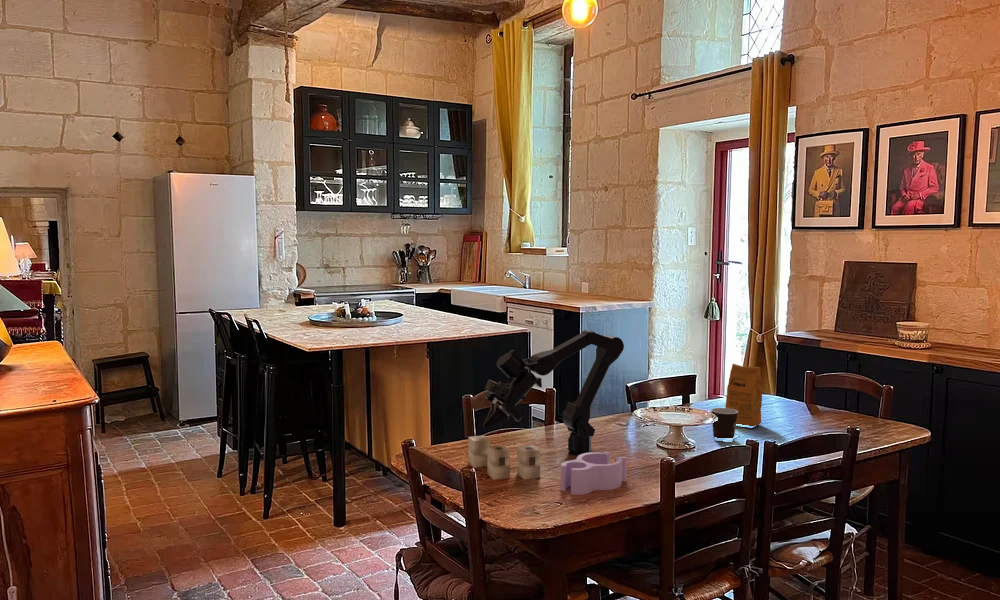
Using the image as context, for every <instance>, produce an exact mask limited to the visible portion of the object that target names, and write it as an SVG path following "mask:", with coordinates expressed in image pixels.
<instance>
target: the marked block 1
mask: <svg viewBox="0 0 1000 600" xmlns="http://www.w3.org/2000/svg"><path fill="white" fill-rule="evenodd" d="M486 473H487V475H488V476H489V477H490V479H492V480H502V479H509V478H511V449H510V448H508V447H507V446H505V445H493V446H490V447H488V466H487V471H486Z"/></svg>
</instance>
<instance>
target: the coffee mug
mask: <svg viewBox="0 0 1000 600" xmlns="http://www.w3.org/2000/svg"><path fill="white" fill-rule="evenodd" d="M710 412H711V413H713V414H715V415H716V416H717V417H718V421H716V422H714V423H712V422H711V423H712V435H713V436H714V437H717V438H733V437H734V438H735V434H736V433H735V432H736V427H737V426H736V421H737V415H738V411H737V410H734V409H729V408H725V407H715V408H712V409H711V410H710ZM711 413H710V414H711ZM713 436H712V437H713ZM714 437H713V438H714Z"/></svg>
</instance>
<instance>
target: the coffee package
mask: <svg viewBox="0 0 1000 600" xmlns="http://www.w3.org/2000/svg"><path fill="white" fill-rule="evenodd" d="M761 371H762V368H761V367H760V366H743V365H740V364H736V363H732V365H731V369H730V372H729V379H728V384H727V387H726V389H727V390H726V397H725V398H726V400H725V405H724V406H725V407H724V408H729V409H734V410H737V411H738V415H737V421H736V424H742V425H749V426H755V425H758V426H760V425H761V424H762V406H763V405H762V404H763V392H764V391H763V388H764V386H763V380H762V374H761ZM760 423H761V424H760ZM759 424H760V425H759Z"/></svg>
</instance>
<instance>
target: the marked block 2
mask: <svg viewBox="0 0 1000 600" xmlns="http://www.w3.org/2000/svg"><path fill="white" fill-rule="evenodd" d="M516 451H517V452H516V453H517V454H516V455H517V456H516V462H517V463H516V464H517V465H516V469H517V470H516V471H517V472H516V474H517V476H519V477H520V478H521V479H523V480H531V479H538V478H541V449H540V448H539V447H537V446H535V445H534V444H533V445H531V444H530V445H522V446H517V448H516Z"/></svg>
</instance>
